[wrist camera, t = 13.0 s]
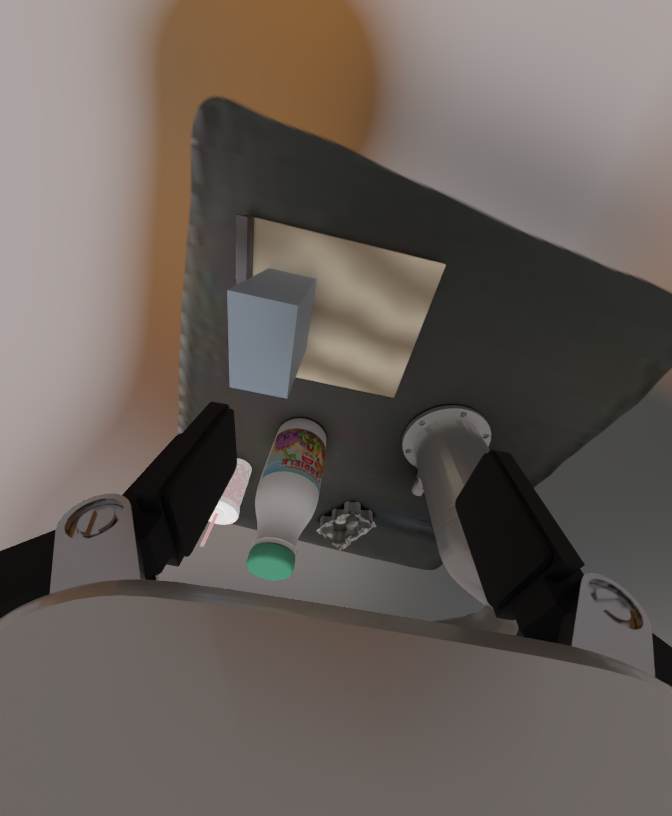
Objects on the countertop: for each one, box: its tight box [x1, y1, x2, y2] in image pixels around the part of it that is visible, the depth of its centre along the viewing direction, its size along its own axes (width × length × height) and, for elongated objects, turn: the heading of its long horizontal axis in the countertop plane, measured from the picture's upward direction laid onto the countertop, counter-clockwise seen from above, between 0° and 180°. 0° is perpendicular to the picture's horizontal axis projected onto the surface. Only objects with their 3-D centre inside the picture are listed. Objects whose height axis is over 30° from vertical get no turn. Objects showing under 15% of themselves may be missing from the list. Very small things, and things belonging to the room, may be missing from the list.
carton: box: [227, 268, 317, 399], centre depth 26 cm, size 8×5×11 cm, turn 169°
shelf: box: [236, 214, 446, 398], centre depth 30 cm, size 16×20×4 cm
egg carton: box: [316, 501, 376, 551], centre depth 52 cm, size 11×8×4 cm
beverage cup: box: [200, 458, 252, 547], centre depth 42 cm, size 6×6×14 cm
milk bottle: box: [247, 418, 327, 580], centre depth 34 cm, size 8×8×20 cm
